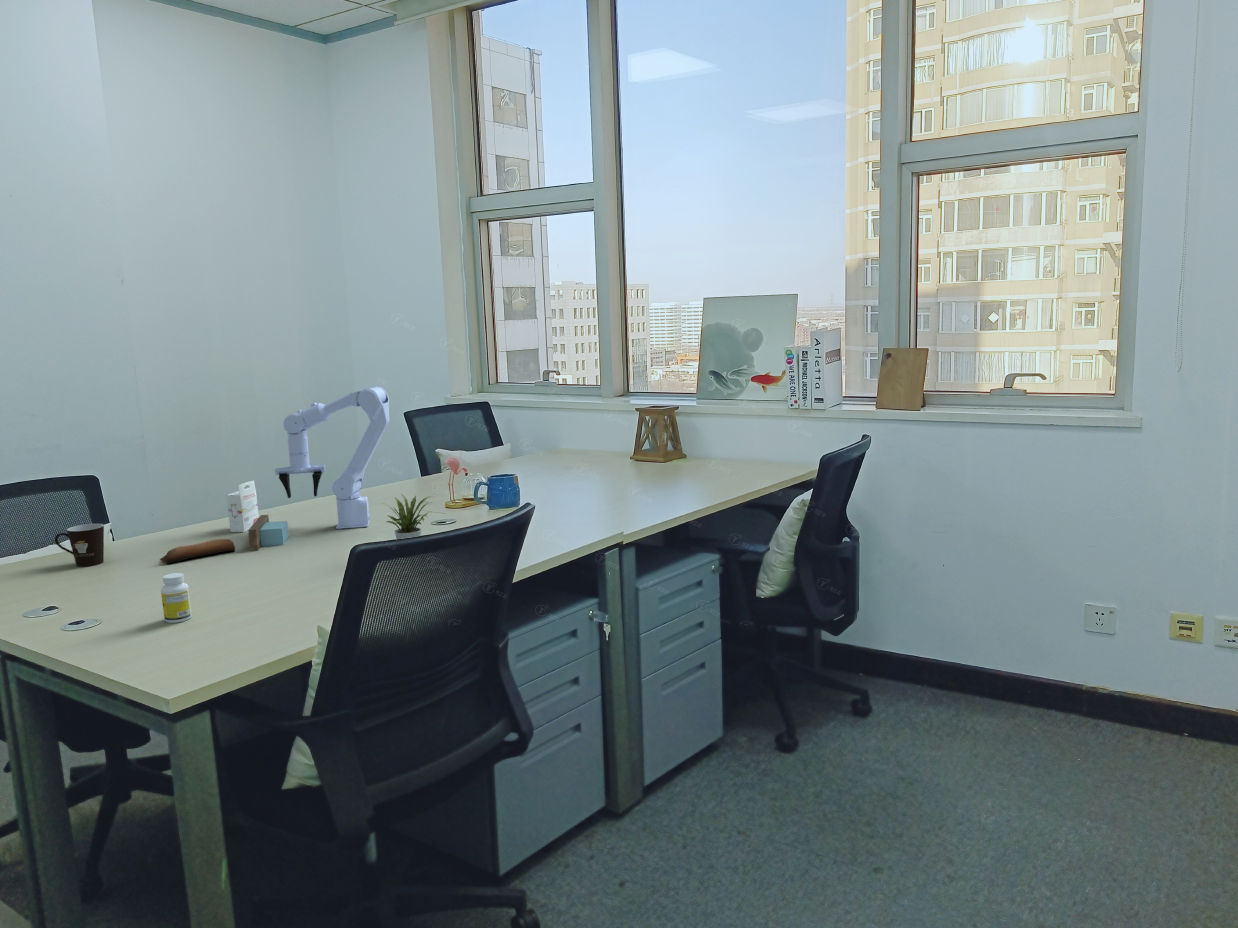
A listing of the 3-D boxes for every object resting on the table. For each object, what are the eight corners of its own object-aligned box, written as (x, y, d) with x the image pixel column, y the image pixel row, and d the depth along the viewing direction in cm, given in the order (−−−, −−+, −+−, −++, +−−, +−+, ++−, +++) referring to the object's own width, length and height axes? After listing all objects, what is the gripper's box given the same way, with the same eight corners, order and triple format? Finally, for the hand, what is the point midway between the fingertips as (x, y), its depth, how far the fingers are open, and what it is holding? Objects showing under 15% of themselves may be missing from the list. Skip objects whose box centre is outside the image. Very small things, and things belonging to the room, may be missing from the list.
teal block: (288, 537, 272) (287, 520, 271) (283, 545, 263) (282, 528, 262) (267, 538, 271) (265, 522, 270) (261, 547, 261) (259, 529, 261)
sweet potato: (224, 546, 262) (226, 528, 259) (233, 562, 258) (236, 544, 255) (156, 559, 250) (158, 541, 246) (166, 576, 246) (167, 557, 243)
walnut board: (270, 534, 276) (268, 514, 275) (257, 550, 257) (255, 529, 256) (263, 534, 276) (261, 515, 275) (250, 550, 256) (248, 529, 255)
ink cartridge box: (245, 525, 289) (241, 479, 286) (260, 526, 288) (255, 479, 285) (229, 532, 280) (224, 484, 278) (243, 532, 279) (239, 484, 277)
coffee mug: (115, 560, 250) (111, 524, 249) (88, 568, 242) (83, 531, 241) (83, 557, 254) (78, 522, 253) (55, 566, 246) (50, 529, 245)
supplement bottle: (170, 615, 201) (165, 572, 199) (196, 614, 201) (191, 571, 200) (160, 624, 195) (155, 579, 194) (186, 622, 196) (181, 578, 194)
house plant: (451, 548, 252) (447, 489, 250) (420, 561, 240) (416, 499, 237) (409, 544, 258) (405, 487, 256) (376, 556, 246) (372, 496, 243)
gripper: (271, 456, 276) (275, 500, 278) (322, 453, 279) (325, 497, 281) (275, 452, 283) (279, 496, 285) (324, 450, 286) (328, 493, 288)
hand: (302, 496), depth 284 cm, fingers open, 7 cm apart
